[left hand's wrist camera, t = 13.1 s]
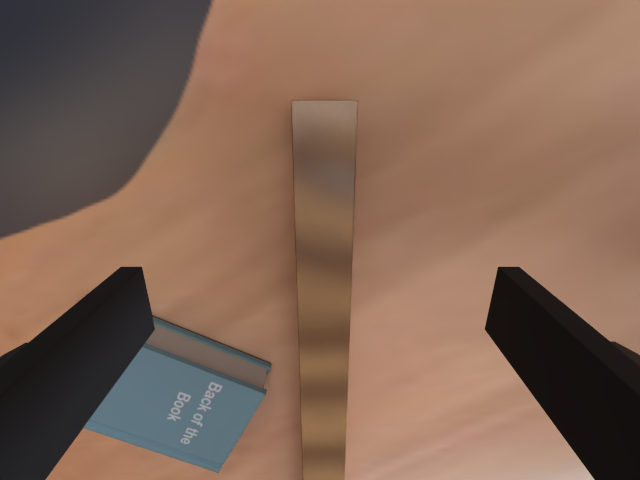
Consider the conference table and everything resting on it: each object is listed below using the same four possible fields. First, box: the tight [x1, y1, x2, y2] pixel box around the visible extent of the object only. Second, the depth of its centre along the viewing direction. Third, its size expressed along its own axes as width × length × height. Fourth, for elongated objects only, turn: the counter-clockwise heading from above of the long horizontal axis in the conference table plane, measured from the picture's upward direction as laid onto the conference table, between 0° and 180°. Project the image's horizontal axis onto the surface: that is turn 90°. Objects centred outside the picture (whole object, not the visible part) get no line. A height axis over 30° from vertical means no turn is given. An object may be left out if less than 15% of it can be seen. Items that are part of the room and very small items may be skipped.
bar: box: [291, 100, 358, 480], centre depth 43 cm, size 76×5×8 cm, turn 0°
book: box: [83, 316, 271, 473], centre depth 43 cm, size 23×16×5 cm
